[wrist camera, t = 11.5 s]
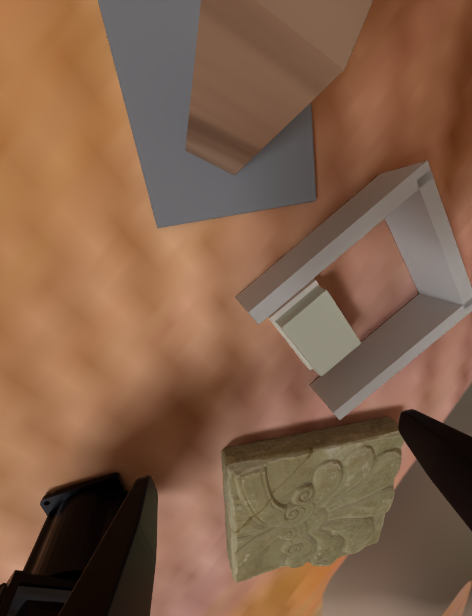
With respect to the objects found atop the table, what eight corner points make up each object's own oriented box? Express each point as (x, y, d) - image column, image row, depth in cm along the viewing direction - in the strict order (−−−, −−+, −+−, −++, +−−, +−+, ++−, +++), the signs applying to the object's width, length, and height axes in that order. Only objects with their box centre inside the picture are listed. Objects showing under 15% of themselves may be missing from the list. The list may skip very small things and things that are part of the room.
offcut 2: (312, 368, 23) (321, 376, 22) (274, 321, 21) (281, 327, 19) (350, 336, 23) (361, 343, 22) (316, 285, 21) (326, 289, 19)
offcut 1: (302, 362, 24) (310, 370, 23) (263, 312, 22) (269, 318, 20) (341, 330, 24) (351, 336, 23) (307, 276, 22) (316, 280, 20)
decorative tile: (220, 443, 25) (227, 476, 21) (388, 411, 29) (415, 435, 26) (223, 561, 30) (229, 602, 27) (363, 520, 35) (383, 551, 31)
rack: (315, 392, 25) (339, 420, 21) (235, 297, 20) (248, 312, 16) (432, 294, 25) (477, 305, 21) (380, 173, 20) (427, 160, 16)
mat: (157, 228, 17) (157, 228, 17) (97, -3, 13) (95, -10, 13) (313, 201, 19) (316, 200, 19) (302, -8, 15) (305, -14, 15)
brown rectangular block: (234, 175, 17) (344, 70, 6) (185, 150, 16) (205, -39, 5) (268, 80, 16) (489, -281, 5) (217, 46, 15) (347, -535, 4)
